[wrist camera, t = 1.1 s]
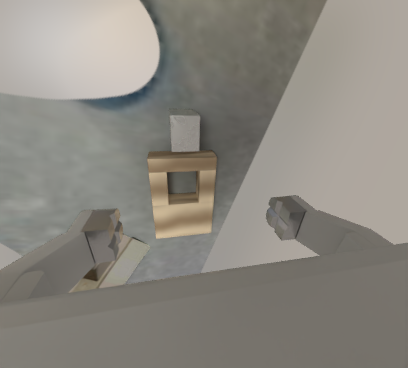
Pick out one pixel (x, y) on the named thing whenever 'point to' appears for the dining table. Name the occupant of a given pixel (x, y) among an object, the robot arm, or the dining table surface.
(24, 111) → the dining table surface
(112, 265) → the beige slotted box
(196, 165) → the oak well block
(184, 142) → the metal bracket bar
